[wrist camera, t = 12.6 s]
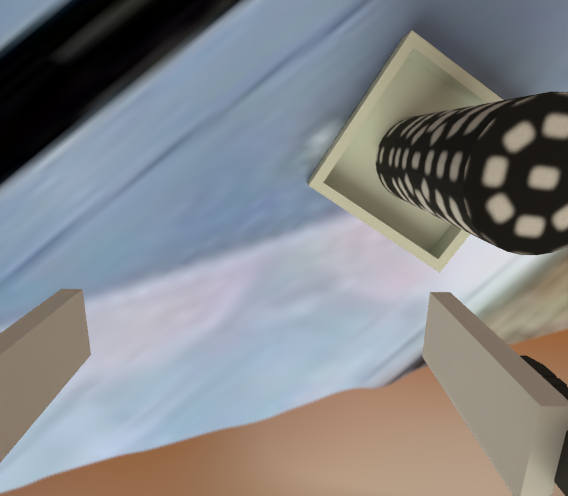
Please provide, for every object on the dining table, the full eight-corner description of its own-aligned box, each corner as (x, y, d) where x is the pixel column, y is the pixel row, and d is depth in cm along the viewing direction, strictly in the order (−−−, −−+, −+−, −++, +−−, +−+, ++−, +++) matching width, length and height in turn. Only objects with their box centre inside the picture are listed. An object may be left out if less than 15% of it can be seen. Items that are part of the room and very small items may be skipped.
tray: (306, 182, 41) (308, 185, 38) (402, 38, 38) (412, 30, 35) (429, 263, 43) (439, 272, 41) (529, 135, 40) (548, 134, 37)
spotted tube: (467, 121, 39) (650, 103, 20) (448, 205, 41) (595, 263, 22) (383, 110, 39) (485, 81, 19) (368, 195, 41) (446, 245, 22)
